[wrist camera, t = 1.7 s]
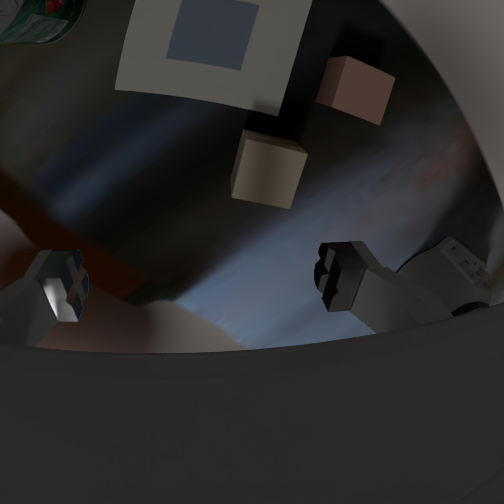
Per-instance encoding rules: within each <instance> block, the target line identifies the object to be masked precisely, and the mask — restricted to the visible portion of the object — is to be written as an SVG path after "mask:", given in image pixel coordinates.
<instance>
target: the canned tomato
mask: <svg viewBox="0 0 504 504" xmlns="http://www.w3.org/2000/svg"><path fill="white" fill-rule="evenodd" d="M85 4H86V0H0V44H44V45H46V44H51V43H54V42H57V41H58V40H60V39H62V38H63V37H65V36H66V35H67V34H68V33H69V32H70V31H71V30H72V29H73V28H74V27H75V26H76V24H77V23H78V21H79V20H80V18H81V16H82V14H83V11H84V8H85Z"/></svg>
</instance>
